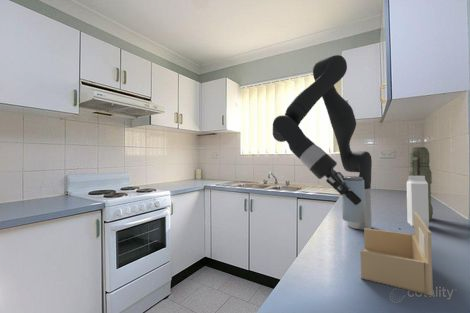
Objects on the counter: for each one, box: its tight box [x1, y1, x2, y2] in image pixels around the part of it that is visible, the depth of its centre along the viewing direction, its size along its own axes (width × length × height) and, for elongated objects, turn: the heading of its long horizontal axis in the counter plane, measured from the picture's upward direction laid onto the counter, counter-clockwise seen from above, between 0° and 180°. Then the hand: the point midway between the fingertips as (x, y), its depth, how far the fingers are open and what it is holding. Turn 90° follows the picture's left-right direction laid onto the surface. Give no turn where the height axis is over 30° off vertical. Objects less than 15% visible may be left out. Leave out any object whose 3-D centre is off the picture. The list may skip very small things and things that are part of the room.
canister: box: [341, 175, 365, 223], centre depth 67 cm, size 6×6×13 cm
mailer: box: [360, 212, 434, 297], centre depth 62 cm, size 22×14×14 cm, turn 148°
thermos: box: [407, 146, 434, 221], centre depth 111 cm, size 9×12×35 cm
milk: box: [406, 175, 430, 229], centre depth 100 cm, size 6×6×22 cm
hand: (359, 200), depth 66 cm, fingers closed on canister, 6 cm apart
